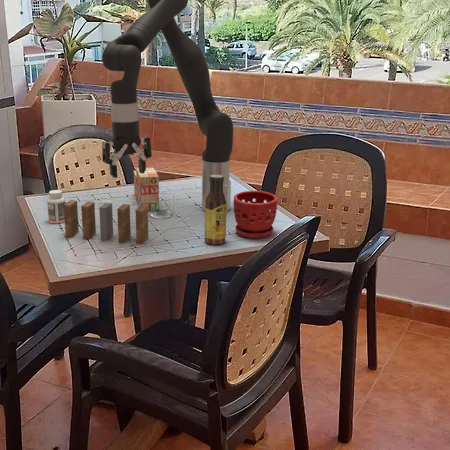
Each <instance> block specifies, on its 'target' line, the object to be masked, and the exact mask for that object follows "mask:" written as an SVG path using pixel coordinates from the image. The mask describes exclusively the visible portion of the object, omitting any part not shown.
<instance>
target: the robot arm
mask: <svg viewBox="0 0 450 450" xmlns="http://www.w3.org/2000/svg"><path fill="white" fill-rule="evenodd" d="M147 3H148V6H149V10H147V11H146V12H145V13H143V14H141V15H140V16H139V17H138V18H137V19H136V20H134V22H132V24H130V26H129V28H128V29H127V30H126V31H125V32H124V33H123V34H121V35H119V36H117V38H115V39H113V40H112V41H110V42H109V43H108V44H107V45H106V46H105V48H103V51H102V56H101V61H102V65H103V66H104V68H105V69H107V70H108V71H112V72H123V76H122V79H118V80H114V81H112V82H111V83H110V99H111V100H110V101H111V106H110V107H111V108H110V109H111V110H110V113H111V129H112V130H111V131H112V141H102V143H101V147H102V152H101V153H102V154H101V156H102V158H101V159H102V162H103V163H104V164H107V165H109V174H110V176H111V177H112V178H113V179H117V178H118V166H117V163H118V161H119V160H120V159H121V158H122V156H128V155H132V156H133V155H135V156H136V157H137V158H138V168H139V172H140V173H142V174H143V173H145V171H146V168H147V164H146V160H147V159H151V158H152V157H153V156H152V154H153V153H152V145H151V143H152V142H151V138H150V137H148V136H145V135H143V137H140V133H141V132H140V118H139V117H140V114H139V106H138V95H137V94H138V93H137V92H138V91H137V87H138V86H137V85H138V83H139V82H138V81H139V76H140V71H141V67H142V53H143V52H144V51H145V50H146V49H147V47H149V46H150V44H151V43H152V41H153V40H154V38H156V36H157V35H158V34H159V32H162V33H161V34H162V35H163V37H164V38H165V41H166V44H167V46H168V48H169V51H170V53H171V55H172V58H173V61H174V64H175V66H176V69H177V71H178V73H179V76H180V78H181V82H182V83H183V85H184V88H185V90H186V93H187V95H188V97H189V99H190V101H191V103H192V106H193V107H192V108H193V109H194V113H195V117H196V120H197V125H198V128H199V130H200V131H201V133H202V134H203V135H204V136H205V137H206V146H205V149H204V150H202V153H201V159H202V160H201V161H202V162H201V209H202V211H203V212H205V207H206V197H207V196H208V194H209V192H210V175H223V176H224V181H223V193H224V196H225V199H226V202H227V213H228V212H229V210H230V209H231V200H232V199H231V195H232V192H231V191H232V188H231V187H232V182H231V180H230V175H231V174H230V173H231V172H230V167H231V164H230V163H231V155H232V152H233V143H234V124H233V120H232V118H231V117H230V116H229V115H228V114H226V113H225V112H222V111H220V109H219V107H218V105H217V104H216V102H215V99H214V96H213V94H212V90H211V77H210V69H209V66H208V63H207V61H206V59H205V56H204V53H203V51H202V49H201V48H200V46H198V44H197V43H196V42H195V41H194V40H193V39H191V38H190V36H188V35H187V34H186V33H185V32H184V31H183V29H181V28H180V26H179V25H178V23H177V21H176V19H175V17H176V16H178V15H179V14H180V13H181V12H183V10H185V9H186V7H187V5H188V3H189V0H147ZM141 144H142V145H143V148H142V149H143V151H142V150H141V148H140V146H141ZM112 147H113V148H114V150H113V152H112V153H111V150H112Z"/></svg>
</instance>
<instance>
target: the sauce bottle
mask: <svg viewBox="0 0 450 450" xmlns="http://www.w3.org/2000/svg"><path fill="white" fill-rule="evenodd" d="M223 181H224V176H223V175H210V192H209V194H208V196H207V197H206V207H205V211H204V235H203V236H204V241H205V243H206V244H208V245H212V246H214V245H215V246H216V245H222V244H224V243H225V241H226V236H227V232H226V231H227V213H228V212H227V202H226V199H225V196H224V193H223Z"/></svg>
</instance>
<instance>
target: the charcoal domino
mask: <svg viewBox="0 0 450 450" xmlns="http://www.w3.org/2000/svg"><path fill="white" fill-rule="evenodd" d="M98 210H99V211H98V212H99V226H100V227H99V231H100V241H105V242H106V241H109V240H110V239H111V238H112V237H113V236H114V217H113V202H104V203H103V204H101V205H100V206H99V209H98Z"/></svg>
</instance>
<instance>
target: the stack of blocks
mask: <svg viewBox="0 0 450 450" xmlns="http://www.w3.org/2000/svg"><path fill="white" fill-rule="evenodd" d="M132 173H133V174H132V175H133V187H134V189H133V190H134V191H133V192H134V197H135V200H136V203H137V205H138V208H139V207H140V206H141V205H142V206H148V212H157V211H156V210H159V211H160V207H159V206H160V199H159V197H160V196H159V194H160V182H159V181H160V180H159V179H160V176H159V174H158V172H157V170H155V168H154V167H146V171H145V173H143V174H142V173H140V172H139V167H138V168H136V169H135V170H133V172H132Z"/></svg>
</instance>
